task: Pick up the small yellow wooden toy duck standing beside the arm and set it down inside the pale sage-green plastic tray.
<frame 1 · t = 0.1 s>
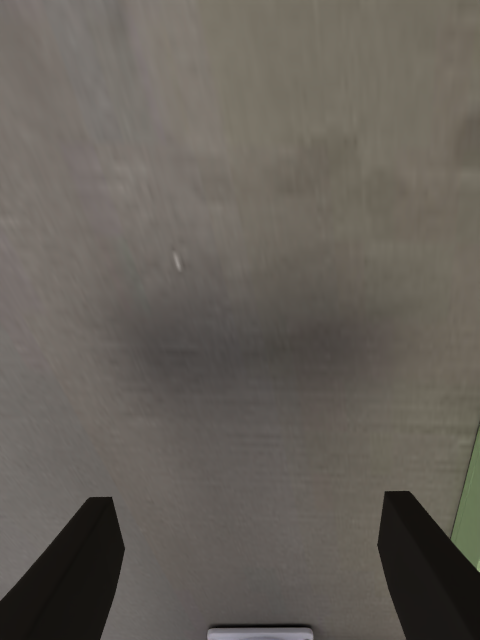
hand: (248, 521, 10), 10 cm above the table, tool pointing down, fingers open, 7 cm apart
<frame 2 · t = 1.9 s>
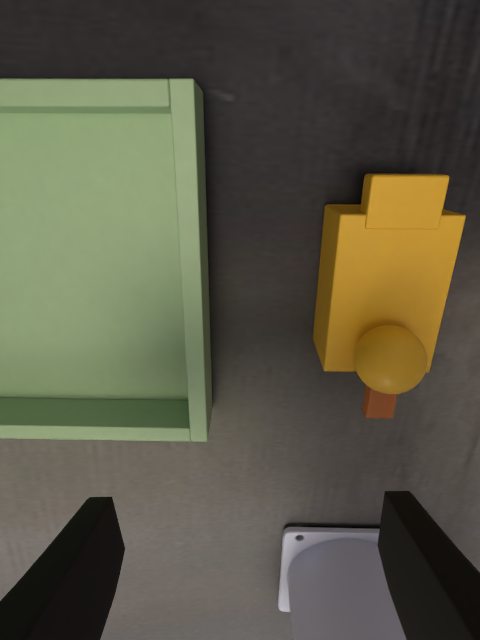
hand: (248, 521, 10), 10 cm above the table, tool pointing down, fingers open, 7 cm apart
tray: (39, 274, 18), on the table
toy duck: (366, 277, 17), on the table
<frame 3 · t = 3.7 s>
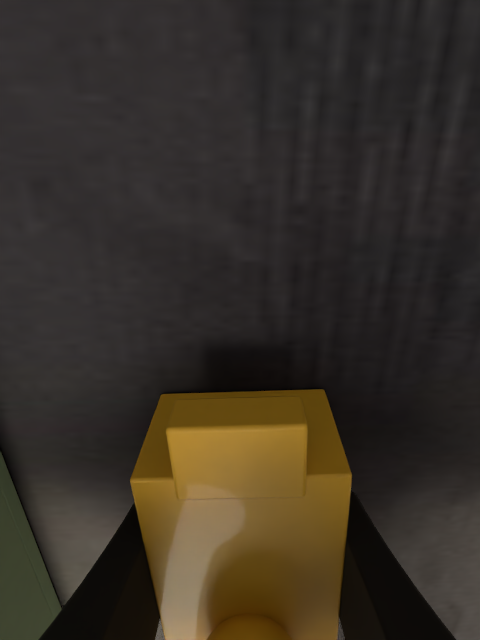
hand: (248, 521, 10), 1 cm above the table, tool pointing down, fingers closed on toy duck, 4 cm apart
toy duck: (246, 479, 11), on the table, touching gripper
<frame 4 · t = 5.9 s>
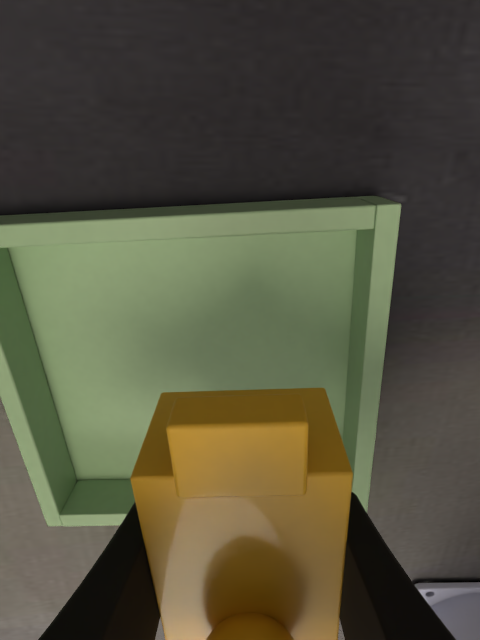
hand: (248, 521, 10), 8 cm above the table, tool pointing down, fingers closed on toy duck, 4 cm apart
tray: (196, 365, 18), on the table
toy duck: (247, 478, 11), point 7 cm above the table, touching gripper
when the fingers open (2 cm above the table, at t = 8.2 s): toy duck stays where it is, resting on tray.
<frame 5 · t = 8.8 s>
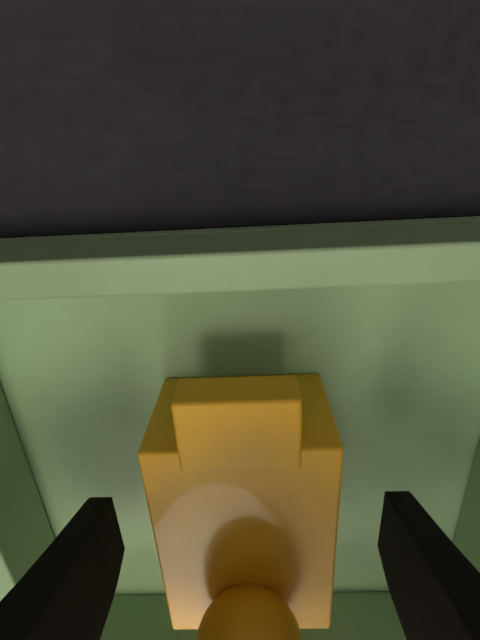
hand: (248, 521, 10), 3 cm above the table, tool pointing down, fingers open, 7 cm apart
tray: (247, 451, 12), on the table
toy duck: (246, 461, 12), resting on tray
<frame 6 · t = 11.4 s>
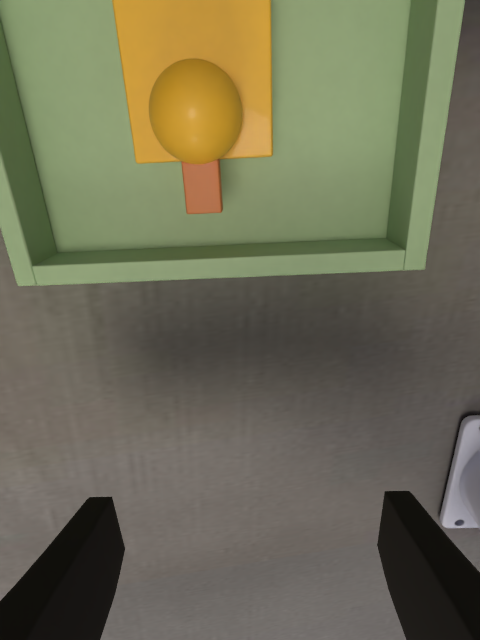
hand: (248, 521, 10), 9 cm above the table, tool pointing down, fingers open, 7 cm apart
tray: (207, 66, 14), on the table
toy duck: (204, 61, 14), resting on tray
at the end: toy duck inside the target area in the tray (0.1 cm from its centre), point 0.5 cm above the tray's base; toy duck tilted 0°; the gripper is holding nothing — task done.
